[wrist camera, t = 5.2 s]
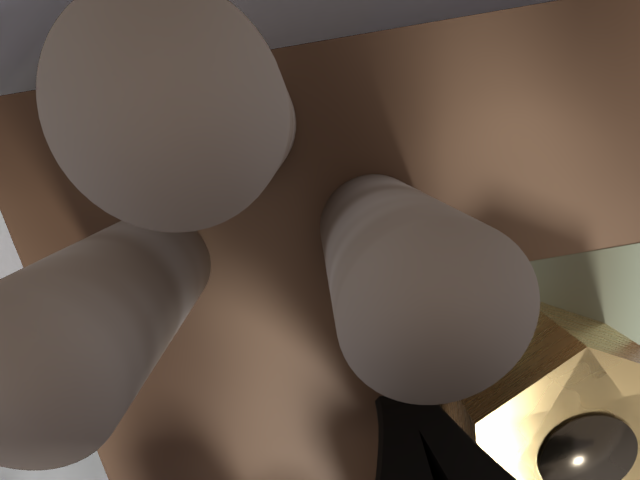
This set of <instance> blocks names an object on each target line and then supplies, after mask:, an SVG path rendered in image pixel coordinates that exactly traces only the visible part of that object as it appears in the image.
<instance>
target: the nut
mask: <svg viewBox="0 0 640 480" xmlns="http://www.w3.org/2000/svg"><path fill="white" fill-rule="evenodd" d="M440 406H441V407H442V408H443V410H444V411H445V412H446V413H447V414H448V415H449V416H450V417H451V418H452V419H453V420H454V421H455V422H456V423H457V424H458V425H459V426H460V427H461V428H462V429H463V430H464V431H465V432H466V433H467V434H468V435H469V436H470V437H471V438H472V439H473V440H474V441H475V442H476V443H477V444H478V445H479V446H480V447H481V448H482V449H483V450H484V451H486V452H487V453H488V454H489V455H490V456H491V457H492V458H493V459H494V460H495V461H496V462H497V463H499V464H500V465H501V466H502V467H503V468H504V469H505V470H506V471H507V472H509V473H510V474H511V475H512V476H513V477H514V478H516V479H517V480H640V345H639V344H637V343H636V342H634V341H632V340H631V339H629V338H628V337H626V336H624V335H623V334H621V333H620V332H618V331H617V330H615V329H613V328H612V327H610V326H609V325H607V324H606V323H603V322H600V321H597V320H594V319H591V318H588V317H585V316H582V315H579V314H576V313H573V312H570V311H567V310H564V309H561V308H558V307H555V306H552V305H549V304H546V303H543V302H540V311H539V317H538V322H537V326H536V329H535V332H534V335H533V338H532V340H531V342H530V344H529V346H528V348H527V349H526V351H525V352H524V354H523V355H522V357H521V358H520V360H519V361H518V362H517V363H516V364H515V366H514V367H513V368H512V369H511V370H510V371H509V372H508V373H507V374H506V375H505V376H504V377H502V378H501V379H500V380H498V381H497V382H496V383H495V384H493V385H492V386H490V387H488V388H487V389H485V390H483V391H482V392H479V393H477V394H475V395H473V396H471V397H468V398H465V399H462V400H459V401H455V402H451V403H446V404H440Z"/></svg>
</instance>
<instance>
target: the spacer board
mask: <svg viewBox="0 0 640 480" xmlns="http://www.w3.org/2000/svg"><path fill="white" fill-rule="evenodd" d="M0 210H1V213H2V215H3V218H4V220H5V223H6V225H7V228H8V230H9V233H10V235H11V238H12V240H13V243H14V245H15V248H16V250H17V253H18V255H19V258H20V260H21V263H22V265H23V268H22V269H20V270H18V271H16V272H14V273H12V274H10V275H8V276H6V277H4V278H2V279H0V466H1V467H6V468H12V469H19V470H48V469H55V468H60V467H64V466H67V465H70V464H73V463H76V462H78V461H80V460H82V459H84V458H86V457H88V456H89V455H91V454H92V453H94V452H95V451H97V452H98V454H99V456H100V459H101V461H102V464H103V466H104V469H105V471H106V474H107V476H108V479H109V480H375V478H376V469H377V455H378V418H377V412H376V405H375V400H376V399H377V398H378V397H379V396H386V397H388V398H391V399H394V400H396V401H400V402H404V403H408V404H417V405H438V404H439V405H440V404H446V403H451V402H455V401H459V400H462V399H465V398H468V397H471V396H473V395H475V394H477V393H479V392H482V391H483V390H485V389H487V388H488V387H490V386H492V385H493V384H495V383H496V382H497V381H498V380H500V379H501V378H502V377H504V376H505V375H506V374H507V373H508V372H509V371H510V370H511V369H512V368H513V367H514V366H515V364H516V363H517V362H518V361H519V360H520V358H521V357H522V355H523V354H524V352H525V351H526V349H527V348H528V346H529V344H530V342H531V340H532V338H533V335H534V332H535V329H536V326H537V322H538V317H539V311H540V302H543V303H546V304H549V305H552V306H555V307H558V308H561V309H564V310H567V311H570V312H573V313H576V314H579V315H582V316H585V317H588V318H591V319H594V320H597V321H600V322H603V323H606V324H607V325H609V326H610V327H612V328H613V329H615V330H617V331H618V332H620V333H621V334H623V335H624V336H626V337H628V338H629V339H631V340H632V341H634V342H636V343H637V344H639V345H640V0H557V1H552V2H546V3H540V4H534V5H528V6H522V7H516V8H511V9H505V10H499V11H493V12H487V13H481V14H476V15H470V16H464V17H458V18H452V19H446V20H441V21H435V22H429V23H423V24H417V25H411V26H405V27H400V28H394V29H388V30H382V31H376V32H370V33H365V34H359V35H353V36H347V37H341V38H335V39H329V40H324V41H318V42H312V43H306V44H300V45H294V46H289V47H283V48H277V49H271V50H270V48H269V46H268V44H267V43H266V41H265V40H264V38H263V37H262V35H261V34H260V32H259V31H258V29H257V28H256V27H255V26H254V25H253V23H252V22H251V21H250V20H249V19H248V18H247V17H246V15H245V14H244V13H242V12H241V11H240V10H239V9H238V8H237V7H236V6H235V5H233V4H232V3H231V2H230V1H228V0H73V1H72V2H71V3H70V4H69V5H68V6H67V7H66V8H65V9H64V11H63V12H62V13H61V14H60V16H59V17H58V18H57V19H56V21H55V23H54V24H53V26H52V28H51V30H50V31H49V33H48V35H47V38H46V40H45V43H44V45H43V47H42V50H41V55H40V59H39V63H38V68H37V77H36V90H31V91H26V92H20V93H14V94H8V95H2V96H0Z"/></svg>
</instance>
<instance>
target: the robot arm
mask: <svg viewBox="0 0 640 480" xmlns="http://www.w3.org/2000/svg"><path fill="white" fill-rule="evenodd" d="M375 405H376V412H377V418H378V455H377V469H376V478H375V480H517V479H516V478H514V477H513V476H512V475H511V474H510V473H509V472H507V471H506V470H505V469H504V468H503V467H502V466H501V465H500V464H499V463H497V462H496V461H495V460H494V459H493V458H492V457H491V456H490V455H489V454H488V453H487V452H486V451H484V450H483V449H482V448H481V447H480V446H479V445H478V444H477V443H476V442H475V441H474V440H473V439H472V438H471V437H470V436H469V435H468V434H467V433H466V432H465V431H464V430H463V429H462V428H461V427H460V426H459V425H458V424H457V423H456V422H455V421H454V420H453V419H452V418H451V417H450V416H449V415H448V414H447V413H446V412H445V411H444V410H443V408H442V407H441V406H440V405H439V404H438V405H417V404H408V403H404V402H400V401H396V400H394V399H391V398H388V397H386V396H379V397H378V398H377V399H376V400H375Z"/></svg>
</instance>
